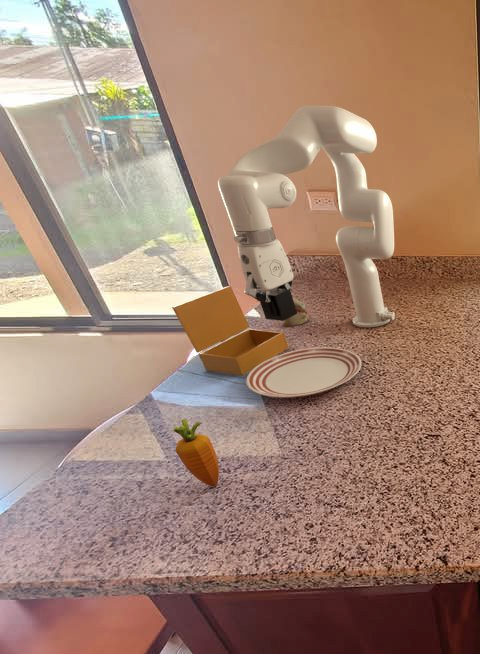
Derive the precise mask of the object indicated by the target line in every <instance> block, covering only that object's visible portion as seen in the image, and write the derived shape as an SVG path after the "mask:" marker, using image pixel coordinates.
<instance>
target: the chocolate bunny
mask: <svg viewBox="0 0 480 654" xmlns="http://www.w3.org/2000/svg"><path fill="white" fill-rule="evenodd" d="M292 298H293V301H294V304H295V308H296V311H297V314H296V315H294V316H292V317H290V318H288V319H286V320H284V321H282V326H283V327H294V326H299V325H303V324H304V323H306V322H308V318H307V314H308V312H307V311H306V310H307V306H306V303H305V302H304V301H302V300H299V299H297V298H295V297H293V296H292Z"/></svg>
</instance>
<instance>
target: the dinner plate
mask: <svg viewBox="0 0 480 654" xmlns="http://www.w3.org/2000/svg"><path fill="white" fill-rule="evenodd" d="M361 368H362V360H361V358H360V357H359V355H358V354H357V353H355V352H353V351H351V350H348V349H344V348H339V347H330V346H329V347H328V346H322V347H321V346H319V347H308V348H302V349H295V350H292V351H288V352H284V353H280V354H277V355H276V356H274V357H273V358H270V359H268V360H266V361H264V362H262V363H261V364H259V365H257V366H256V367H255V368H254V369H253V370H251V371H250V372H248V373H247V376H246V379H245V383H246V386H247V387H248V389H249V390H250V391H252V392H253V393H255V394H257V395H260V396H265V397H269V398H277V399H278V398H279V399H281V398H282V399H291V398H302V397H309V396H313V395H317V394H320V393H324V392H326V391H330V390H332V389H334V388H336V387H339V386H340V385H341V386H342V385H343V384H345V383H347V382H348V381H350V380H352V378H354V377H355V376H356V375H357V374H358V373H359V371H361Z"/></svg>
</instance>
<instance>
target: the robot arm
mask: <svg viewBox="0 0 480 654" xmlns="http://www.w3.org/2000/svg"><path fill="white" fill-rule="evenodd" d="M377 137H378V136H377V133H376V131H375V128H374V127H373V125H372V124H371V122H369V121H368V120H367V119H365V118H363V117H361V116H359V115H357V114H356V113H353V112H352V111H350V110H347V109H345V108H343V107H340V106H335V105H302V106H300V107H299V108H297V109H296V110H295V111H294V112H293V114H292V115H291V116H290V118H289V119H288V121H287V122H286V123H285V125H284V126H283V128H282V129H281V130H280V131H279V133H278V134H277V136H275V137H274V138H272V139H269V140H267V141H265V142H264V143H262V144H260V145H258V146H256V147H254V148H252V149H250V150H249V151H247V152H246V153H244V154H243V155H241V157H239V158H238V160H237V161H236V162H235V164H234V165H233V166H232V167H231V169H230V171H229V172H228V174H227V175H226V176H221V177H219V178H218V180H217V187H218V190H219V192H220V195H221V198H222V201H223V204H224V206H225V209H226V212H227V215H228V218H229V220H230V223H231V228H232V230H233V232H234V235H235V236H234V237H233V240H234V241H235V242H236V243H238V245H237V253H238V258H239V262H240V266H241V271H242V274H243V277H244V279H245V282H246V284H245V287H244V294H245V295H247V296H249V297H252V298H253V299H255V300H256V301H257V302H259V303H260V302H261V303H260V306H261V305H262V306H261V309H262V308H263V309H262V311H264V312H263V314H264V313H265V315H264V317H265V316H268V317H278V314H277V311H276V308H275V305H274V302H273V301H271V298H270V290H272V289H274V288H284V289H290V291H291V293H292V292H293V289H292V286H293V281H294V279H295V276H296V274H295V273H294V272H293V269H292V265H291V263H290V261H289V258H288V256H287V253H286V251H285V249H284V247H283V245H282V243H281V242H280V240H279V239H278V238H276V234H275V231H274V228H273V225H272V221H271V218H270V213H269V212H268V210H269V209H286V208H289V207H290V206H292V205H293V204H294V202H295V201H296V200H297V188H296V185H295V184H294V183H293V181H292V180H291V179H290V178H289V177H287V176H286V175H289V174H294V173H297V172H300V171H303V170H305V169H308V168H309V167H310V166H311V165H312V163H313V161H314V160H315V158H316V157H317V155H318V154H319V153H320V151H321V150H323V152H324V153H325V154H326V155H327V157H328V159H329V160H330V161H331V164H332V166H333V168H334V171H335V177H336V178H335V179H336V188H337V189H336V190H337V200H338V201H337V203H338V209H339V213H340V215H341V217H342V218H343V219H345V220H346V221H351V222H359V223H372V224H373V226H364V225H363V226H361V225H347V226H343V227H341V228H339V229H338V231H337V232H336V234H335V242H336V247H337V249H338V251H339V254H340V256H341V258H342V261H343V264H344V267H345V272H346V276H347V280H348V284H349V289H350V293H351V298H352V303H353V307H354V311H355V316H354V317H353V318H352V324H353V325H354V326H356V327H358V328H369V329H370V328H377V327H381V326H384V325H386V324H388V323H389V322H391V321H395V318H396V315H395V314H396V313H395V312H394V311H389V310H388V306H385V304H384V298H383V293H382V287H381V282H380V276H379V272H378V271H379V270H378V268H377V266H376V264H375V262H374V261H373V260H388V259H390V258H391V257H393V255H394V253H395V225H394V223H395V222H394V208H393V204H392V200H391V198H390V196H389V194H388V193H386V192H385V191H384V190H382V189H377V188H374V189H373V188H368V179H367V172H366V169H365V167H364V165H363V164H362V162H361V160H360V159H359V158H358V156H356V154H357V155H370V154H372V153H373V152H375V150H376V148H377V145H378V138H377ZM263 291H264V295H262V292H263Z"/></svg>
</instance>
